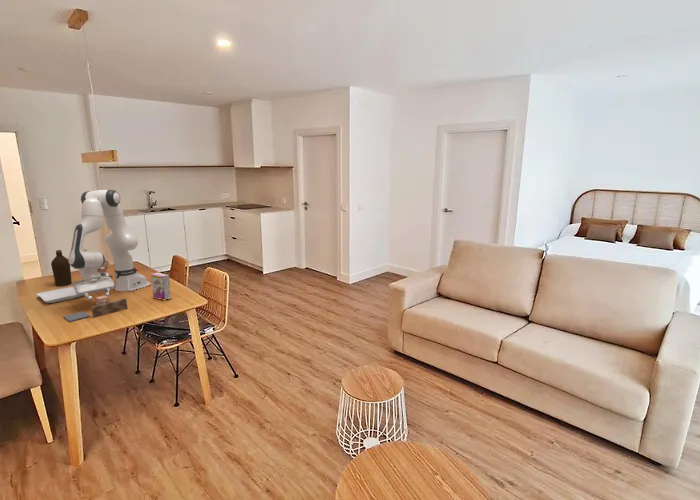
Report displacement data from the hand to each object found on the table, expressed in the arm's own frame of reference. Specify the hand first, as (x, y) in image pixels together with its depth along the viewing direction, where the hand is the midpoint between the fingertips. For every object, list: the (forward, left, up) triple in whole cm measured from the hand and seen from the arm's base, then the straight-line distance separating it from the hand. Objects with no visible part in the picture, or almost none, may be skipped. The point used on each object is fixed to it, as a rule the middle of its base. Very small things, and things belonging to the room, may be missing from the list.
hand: (99, 297), depth 230 cm
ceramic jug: (-23, -62, -8) cm, 66 cm away
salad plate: (+8, -41, -8) cm, 42 cm away
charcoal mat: (+13, +3, -7) cm, 16 cm away
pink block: (-1, +2, -7) cm, 8 cm away
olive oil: (-2, -70, -7) cm, 70 cm away
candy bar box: (-33, +9, -7) cm, 35 cm away
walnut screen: (-2, +10, -7) cm, 12 cm away
